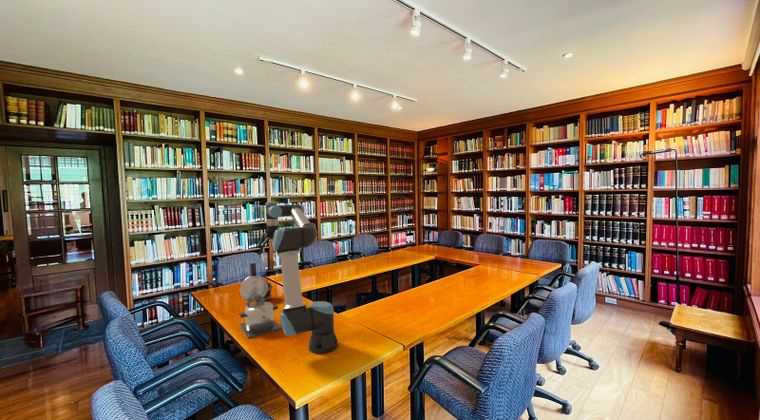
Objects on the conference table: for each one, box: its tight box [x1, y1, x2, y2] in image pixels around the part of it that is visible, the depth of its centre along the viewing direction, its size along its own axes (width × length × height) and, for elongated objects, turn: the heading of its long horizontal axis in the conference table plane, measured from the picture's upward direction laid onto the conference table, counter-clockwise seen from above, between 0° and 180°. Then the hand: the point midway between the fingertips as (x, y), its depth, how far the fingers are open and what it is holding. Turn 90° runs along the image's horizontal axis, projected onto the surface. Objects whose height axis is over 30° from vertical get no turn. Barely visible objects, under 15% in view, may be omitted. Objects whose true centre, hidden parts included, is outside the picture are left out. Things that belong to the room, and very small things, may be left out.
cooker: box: [238, 299, 283, 340], centre depth 188 cm, size 22×22×14 cm
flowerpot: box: [255, 279, 273, 303], centre depth 236 cm, size 14×15×20 cm
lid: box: [239, 262, 269, 303], centre depth 195 cm, size 24×17×4 cm
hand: (273, 256), depth 207 cm, fingers open, 13 cm apart
